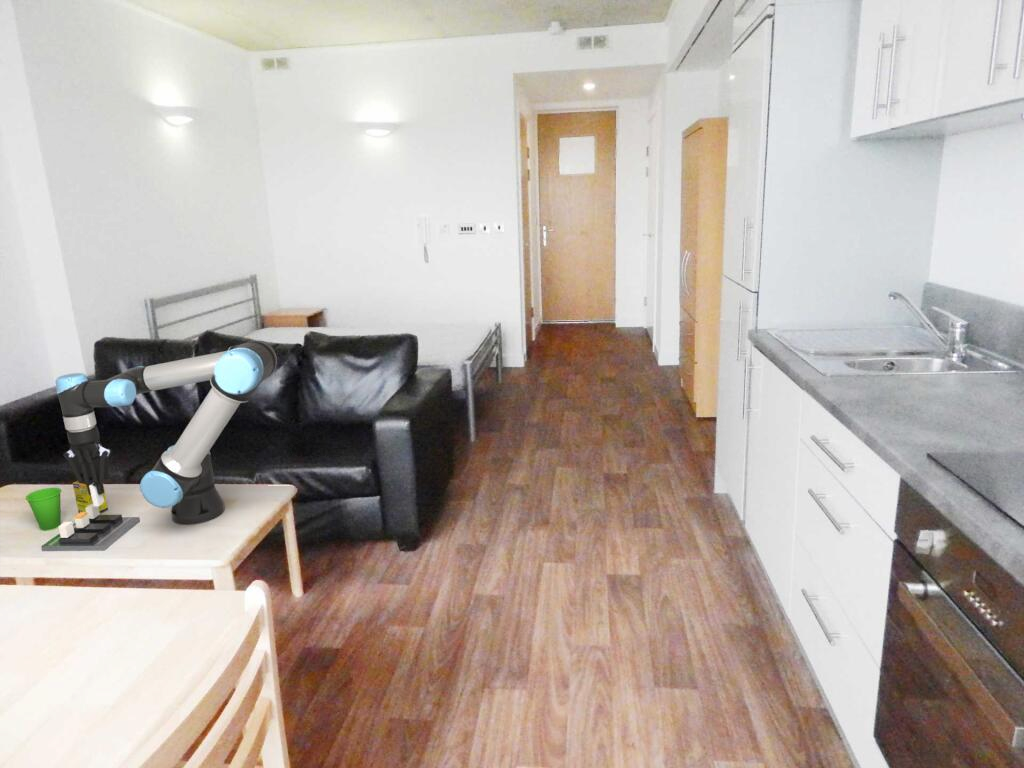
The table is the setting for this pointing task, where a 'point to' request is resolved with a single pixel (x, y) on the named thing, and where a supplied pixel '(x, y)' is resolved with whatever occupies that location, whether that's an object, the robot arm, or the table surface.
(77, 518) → the handle
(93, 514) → the handle
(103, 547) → the panel
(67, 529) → the handle
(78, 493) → the supplement box
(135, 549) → the table surface
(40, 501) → the cup
